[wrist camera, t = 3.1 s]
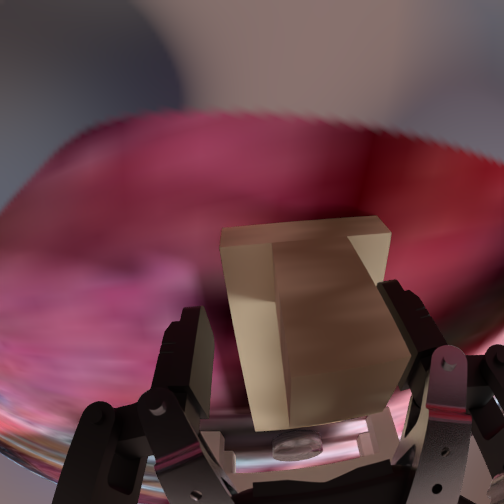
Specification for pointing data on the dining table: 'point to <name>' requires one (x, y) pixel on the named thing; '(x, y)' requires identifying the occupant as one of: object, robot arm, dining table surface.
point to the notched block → (370, 449)
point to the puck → (297, 445)
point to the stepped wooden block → (312, 319)
